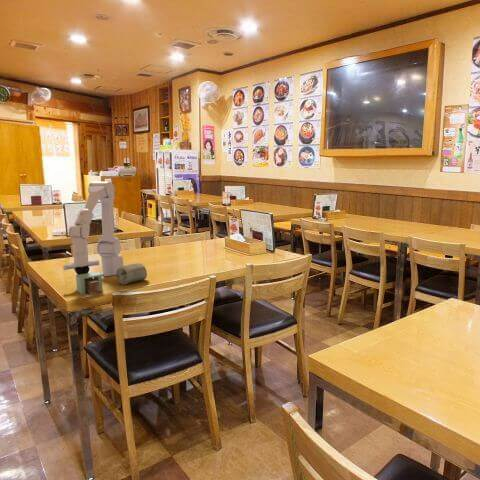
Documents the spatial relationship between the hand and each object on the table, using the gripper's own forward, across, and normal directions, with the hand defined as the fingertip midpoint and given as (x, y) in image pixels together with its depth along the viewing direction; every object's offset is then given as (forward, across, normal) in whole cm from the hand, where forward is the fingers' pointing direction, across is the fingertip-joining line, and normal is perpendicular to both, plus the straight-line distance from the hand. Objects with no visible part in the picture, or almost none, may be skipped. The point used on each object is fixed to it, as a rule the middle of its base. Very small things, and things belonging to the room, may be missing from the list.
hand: (82, 283), depth 174 cm
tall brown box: (+1, 0, -9) cm, 9 cm away
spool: (+1, +19, -7) cm, 21 cm away
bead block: (+1, 0, -9) cm, 9 cm away
